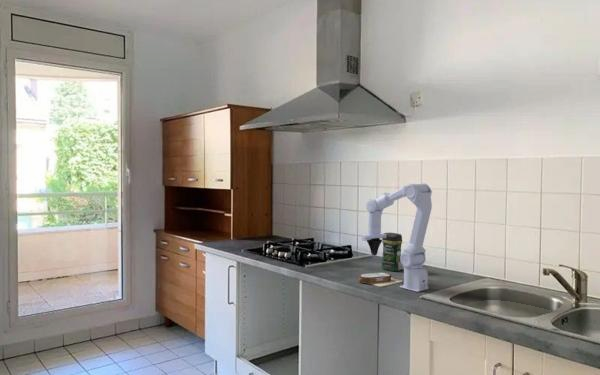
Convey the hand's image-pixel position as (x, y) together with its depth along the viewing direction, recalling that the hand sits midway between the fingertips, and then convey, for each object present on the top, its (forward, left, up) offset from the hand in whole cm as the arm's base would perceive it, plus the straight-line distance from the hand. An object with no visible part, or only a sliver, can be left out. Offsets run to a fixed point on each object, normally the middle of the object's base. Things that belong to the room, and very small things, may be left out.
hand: (374, 254), depth 201 cm
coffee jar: (+6, -20, -11) cm, 23 cm away
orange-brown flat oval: (-1, +4, -9) cm, 9 cm away
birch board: (-9, +3, -11) cm, 14 cm away
